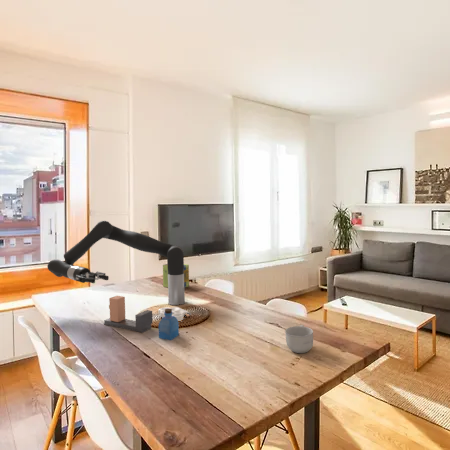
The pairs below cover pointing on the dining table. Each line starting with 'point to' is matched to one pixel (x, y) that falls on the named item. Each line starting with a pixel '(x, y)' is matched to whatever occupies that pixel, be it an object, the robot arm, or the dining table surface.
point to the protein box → (186, 275)
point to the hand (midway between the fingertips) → (101, 279)
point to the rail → (134, 322)
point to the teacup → (299, 338)
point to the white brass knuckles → (174, 312)
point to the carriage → (117, 308)
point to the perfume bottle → (168, 326)
